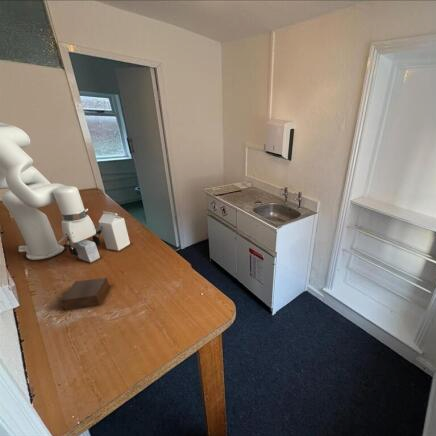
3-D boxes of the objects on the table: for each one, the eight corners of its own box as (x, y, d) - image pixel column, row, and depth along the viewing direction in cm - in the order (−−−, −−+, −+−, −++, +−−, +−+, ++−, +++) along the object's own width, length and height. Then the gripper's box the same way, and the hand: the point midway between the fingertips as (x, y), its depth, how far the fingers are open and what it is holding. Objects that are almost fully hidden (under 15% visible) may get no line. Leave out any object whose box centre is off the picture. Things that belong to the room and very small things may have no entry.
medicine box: (100, 258, 108) (95, 242, 105) (90, 263, 105) (84, 246, 101) (88, 253, 111) (83, 238, 107) (78, 258, 107) (72, 242, 103)
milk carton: (118, 251, 114) (109, 216, 106) (106, 248, 115) (95, 214, 107) (130, 244, 121) (122, 210, 113) (118, 241, 122) (109, 208, 114)
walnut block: (65, 310, 81) (60, 300, 79) (78, 290, 89) (75, 281, 88) (99, 305, 84) (96, 295, 82) (109, 286, 92) (106, 277, 91)
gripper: (89, 207, 107) (100, 239, 114) (43, 221, 92) (58, 257, 99) (101, 209, 105) (111, 242, 112) (56, 225, 90) (71, 261, 97)
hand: (86, 249), depth 105 cm, fingers open, 9 cm apart
